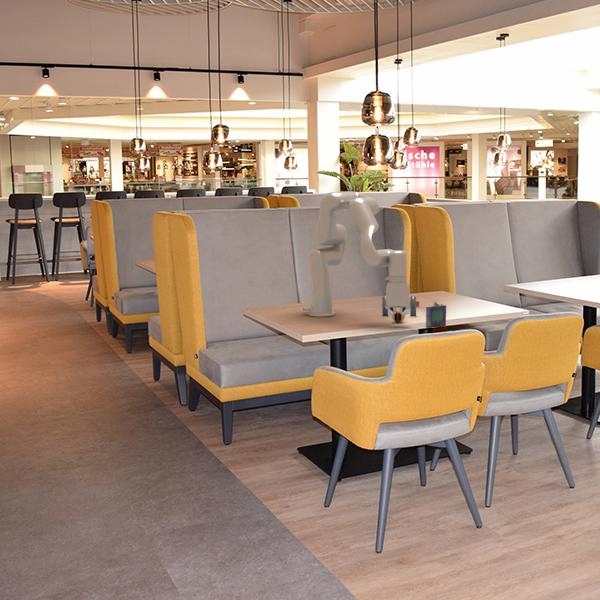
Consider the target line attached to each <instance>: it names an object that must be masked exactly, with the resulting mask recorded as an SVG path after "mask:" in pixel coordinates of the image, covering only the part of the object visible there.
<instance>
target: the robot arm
mask: <svg viewBox="0 0 600 600" xmlns="http://www.w3.org/2000/svg"><path fill="white" fill-rule="evenodd" d="M379 206H380V205H379V203H378V201H377V200H376V198H374V197H372V196H370V195H367V194H363V193H361V192H357V191H349V190H348V191H330V192H327V193H325V194H324V195H323V196H322V197H321V200H320V204H319V215H318V216H319V217H318V221H317V228H316V232H315V241H316V243H317V244H318V245H319V247H315V248H313V249H312V250H311V251H309V254H308V264H309V268H310V278H311V279H310V282H311V283H310V284H311V288H310V289H311V305H309V306H307V305H306V306H305V305H302V311H308V316H311V317H318V318H319V317H320V318H321V317H333V316H335V315H336V311H334V310H333V293H332V291H333V288H332V287H333V285H332V283H333V282H332V273H331V272H330V270H329V268H331V267H337V266H340V265H341V263H342V262H343V260H344V257H345V251H346V246H347V242H348V232H347V229H346V227H345V226H344V225H343V224H340V223H338V220H339V219H338V218H339V217H338V212H337V211H340V212H341V211H349V212H350V215H351V217H352V219H353V221H354V223H355V225H356V226H357V228H358V231H359V233H360V238H359V249H360V252H361V254H362V256H363V258H364V260H365V262H366V263H367V265H368V266H369V267H370V268H372V269H377V268H386V267H388V276H386V277H385V281H388V282H387V283H386V288H385V296H386V306H385V308H386V309H390V310H391V311H392V312H393V313H394V320H393V322H395V321H396V322H395V324H400V323H401V322H400V321H402V312H403V311H404V310H407V309H410V308H411V307H410V297H411V294H410V293H411V292H410V285H409V282H407V281H408V280H407V278H408V277H407V276H408V275H407V273H408V271H407V270H408V269H407V263H408V262H407V260H408V258H407V255H408V254H407V252H406V251H405V250H402V249H401V250H399V249H397V250H394V249H391V248H384V249H376V246H375V245H374V243H373V240H372V236H373V235H374V234H375V233H376V232H377V231H378V230H379V227H380V226H379V223H378V221H377V220H376V217H375V216H376V215H377V214H378V212H379V210H380V207H379ZM320 245H321V246H320ZM396 308H400V311H399V313H397V310H396ZM402 322H403V321H402Z"/></svg>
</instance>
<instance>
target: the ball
mask: <svg viewBox="0 0 600 600" xmlns="http://www.w3.org/2000/svg"><path fill="white" fill-rule="evenodd" d="M399 311H400V310H397V313H399ZM405 317H406V314H404V312H402V321H400V323H402V322H403V321H404V320H405ZM391 318H392V321H394V313H393V314H391ZM394 322H395V323H396V321H394Z"/></svg>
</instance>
